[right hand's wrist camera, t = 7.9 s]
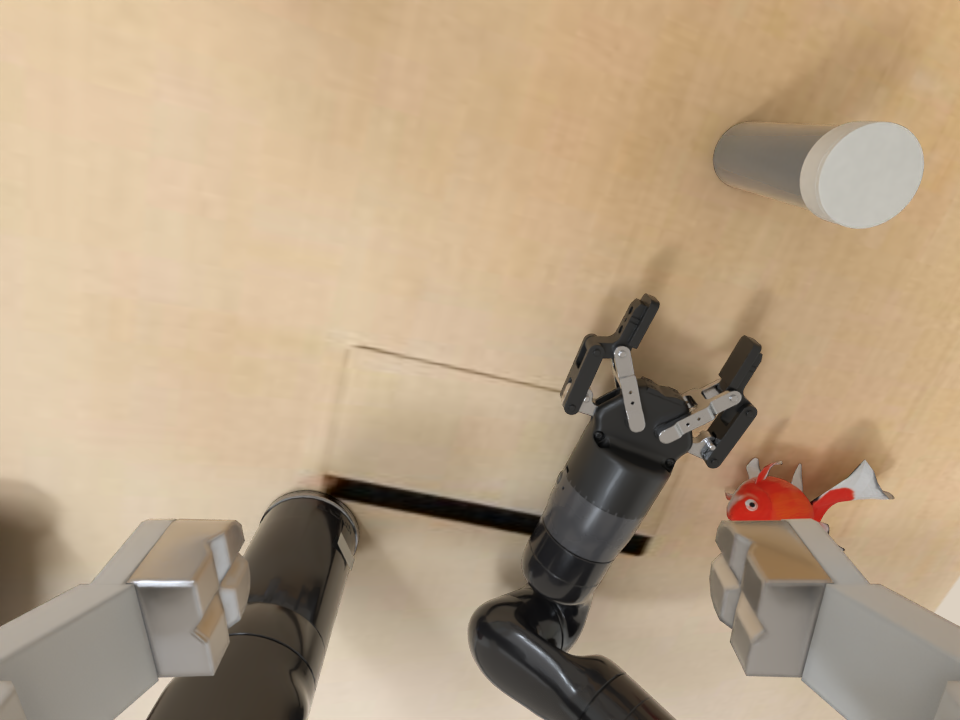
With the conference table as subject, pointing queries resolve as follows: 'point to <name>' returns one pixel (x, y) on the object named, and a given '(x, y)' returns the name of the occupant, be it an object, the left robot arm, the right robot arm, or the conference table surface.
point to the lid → (862, 173)
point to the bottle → (767, 158)
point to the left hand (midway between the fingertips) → (703, 319)
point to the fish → (796, 495)
